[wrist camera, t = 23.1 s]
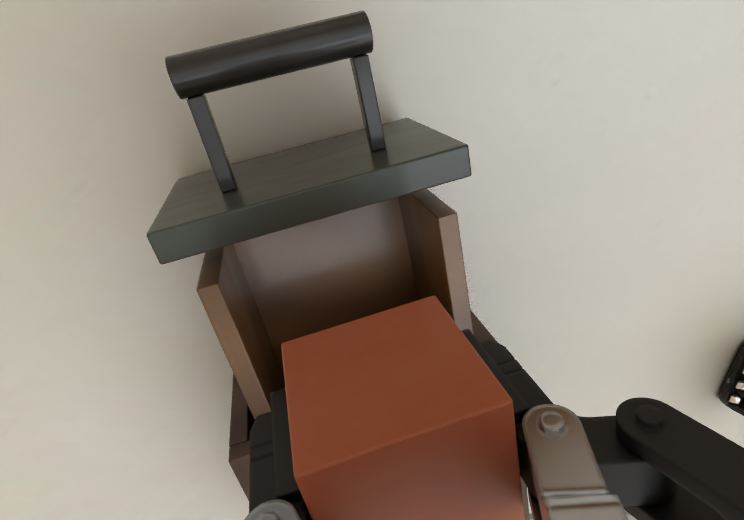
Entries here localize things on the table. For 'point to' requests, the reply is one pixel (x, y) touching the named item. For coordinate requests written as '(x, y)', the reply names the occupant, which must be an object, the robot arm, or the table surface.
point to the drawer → (310, 210)
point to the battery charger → (734, 385)
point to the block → (400, 421)
